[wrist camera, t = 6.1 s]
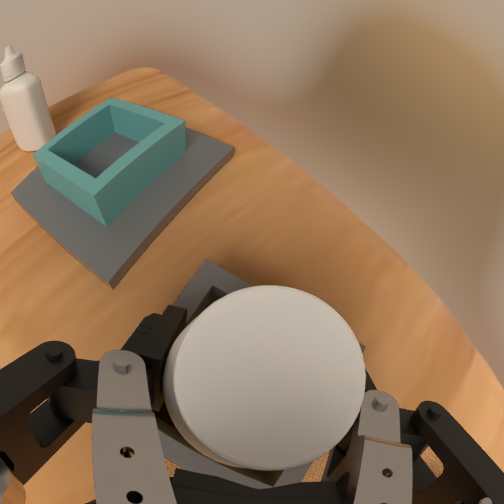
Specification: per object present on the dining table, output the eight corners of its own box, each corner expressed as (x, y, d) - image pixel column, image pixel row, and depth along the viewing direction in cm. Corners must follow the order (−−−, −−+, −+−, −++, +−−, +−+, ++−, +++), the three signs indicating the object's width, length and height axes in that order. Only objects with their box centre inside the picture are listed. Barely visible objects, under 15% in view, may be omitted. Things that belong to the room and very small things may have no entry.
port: (15, 200, 17) (-4, 168, 14) (120, 112, 24) (116, 80, 21) (113, 289, 15) (90, 256, 12) (233, 156, 22) (238, 116, 19)
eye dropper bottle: (47, 123, 22) (24, 35, 12) (60, 139, 21) (33, 36, 11) (16, 144, 20) (-13, 57, 10) (26, 163, 19) (-12, 62, 9)
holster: (120, 410, 12) (99, 411, 9) (206, 283, 16) (206, 258, 14) (268, 491, 10) (282, 509, 8) (340, 357, 15) (365, 346, 12)
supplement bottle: (162, 383, 13) (86, 350, 5) (237, 323, 15) (276, 212, 7) (232, 457, 11) (272, 541, 3) (305, 391, 14) (428, 361, 5)
